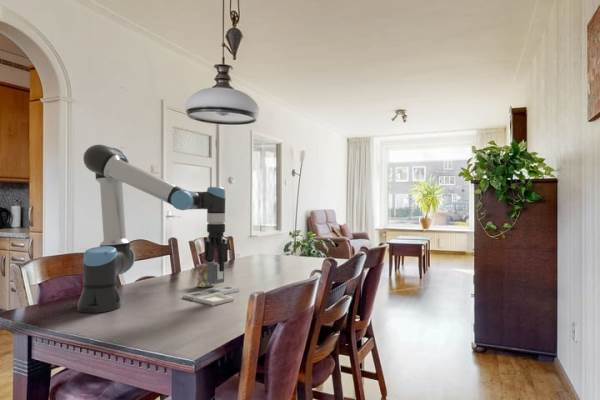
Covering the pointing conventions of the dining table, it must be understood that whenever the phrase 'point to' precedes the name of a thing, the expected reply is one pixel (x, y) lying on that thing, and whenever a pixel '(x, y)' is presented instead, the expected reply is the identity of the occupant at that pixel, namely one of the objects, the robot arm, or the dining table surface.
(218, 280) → the dark grey block
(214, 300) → the tray
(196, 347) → the dining table surface
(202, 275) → the mug
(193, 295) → the rail
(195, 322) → the dining table surface
